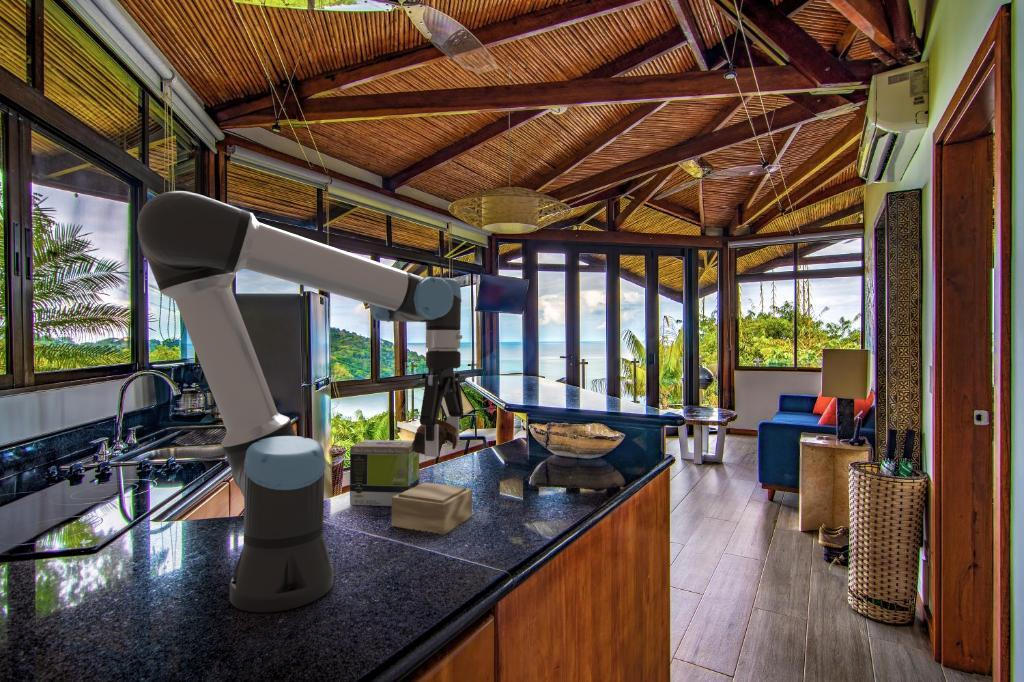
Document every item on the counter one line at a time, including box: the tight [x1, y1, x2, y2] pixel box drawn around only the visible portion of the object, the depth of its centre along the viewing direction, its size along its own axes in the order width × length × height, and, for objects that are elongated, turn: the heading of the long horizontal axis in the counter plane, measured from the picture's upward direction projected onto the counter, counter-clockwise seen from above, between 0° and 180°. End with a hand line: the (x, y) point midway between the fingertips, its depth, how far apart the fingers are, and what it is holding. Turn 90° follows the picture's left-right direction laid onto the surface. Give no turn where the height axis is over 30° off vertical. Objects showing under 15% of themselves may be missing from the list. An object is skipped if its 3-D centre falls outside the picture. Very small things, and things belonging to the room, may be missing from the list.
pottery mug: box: [411, 419, 457, 456], centre depth 113 cm, size 12×10×8 cm
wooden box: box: [391, 481, 473, 535], centre depth 117 cm, size 13×13×7 cm
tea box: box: [349, 439, 420, 507], centre depth 131 cm, size 15×10×15 cm
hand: (442, 450), depth 113 cm, fingers closed on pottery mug, 11 cm apart
